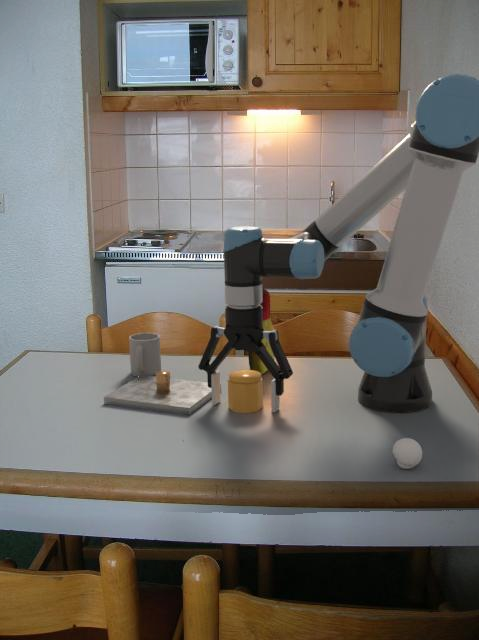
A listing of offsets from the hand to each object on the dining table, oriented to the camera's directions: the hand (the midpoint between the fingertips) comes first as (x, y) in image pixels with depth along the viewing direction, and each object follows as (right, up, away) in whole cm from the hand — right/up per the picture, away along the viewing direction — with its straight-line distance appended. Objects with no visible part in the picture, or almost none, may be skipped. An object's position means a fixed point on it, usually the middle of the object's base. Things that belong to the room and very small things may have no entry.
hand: (245, 406), depth 153 cm
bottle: (+4, +6, +25) cm, 26 cm away
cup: (-24, +5, +23) cm, 34 cm away
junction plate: (-18, +1, +7) cm, 19 cm away
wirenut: (0, 0, 0) cm, 0 cm away
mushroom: (+27, -7, -29) cm, 40 cm away
